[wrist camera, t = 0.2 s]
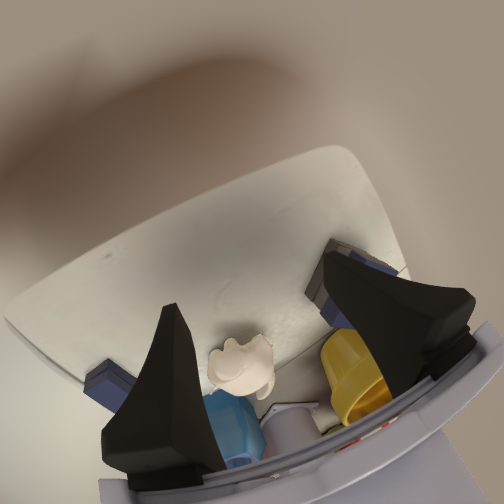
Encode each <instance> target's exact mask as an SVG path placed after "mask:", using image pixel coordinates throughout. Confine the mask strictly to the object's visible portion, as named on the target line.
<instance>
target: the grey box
mask: <svg viewBox="0 0 504 504" xmlns="http://www.w3.org/2000/svg"><path fill="white" fill-rule="evenodd" d="M333 250H335V251H337V252H339V253H342V254H344V255H346V256H348V257H349V254H350V252H351V250H354V251H357V252H360V253H362V254H365V255H367V256H370V257H373V256H371V255H370V254H368V253H367V252H365V251H362V250H360V249H357V248H355V247H352V246H349V245H347V244H344V243H342V242H339V241H336V240H334V239H330V241H329V243H328V245H327V247H326V249H325V252H324V253H327V252H330V251H333ZM373 258H375V257H373ZM375 259H377V258H375ZM305 295H306V296H307V297H308V298H309V299H310V301H312V302H314V303H315V305H316V306H317V307H318V308H319V309H320V311H321V310H322V308H323V306H324V304H325V302H326V300H327V298H328V296H329V294H328V293H327V291H326V289H325V288H324V281H323V256H322V258H321V260H320V262H319V264H318V267H317V269H316V271H315V273H314V275H313V277H312V279H311V281H310V283H309V285H308V287H307V289H306V291H305Z"/></svg>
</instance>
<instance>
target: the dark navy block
mask: <svg viewBox="0 0 504 504" xmlns="http://www.w3.org/2000/svg"><path fill="white" fill-rule="evenodd" d="M136 380H137V379H136V378H134V377H133V376H131V375H130V374H129V373H127V372H126V371H124V370H123V369H122V368H120V367H119V366H117V365H116V364H115V363H113V362H112V361H111V360H109V359H107V360H106V361H105V362H103V363H102V364H101V365H99V366H98V367H97V368H95V369H94V370H93V371H91V372H90V373H88V374H87V375H86V378H85V382H84V384H85V386H84V391H83V392H84V393H85V394H86V395H88V396H89V397H90V398H92V399H93V400H95V401H97V402H98V403H99V404H101V405H102V406H104V407H105V408H107V409H108V410H110V411H112V412H113V413H115V414H116V412H117V411H118V409H119V408H120V407H121V405H122V404H123V402H124V401H125V399H126V398H127V396H128V394H129V393H130V391H131V389H132V387H133V385H134V384H135V382H136Z"/></svg>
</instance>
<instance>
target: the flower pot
mask: <svg viewBox="0 0 504 504" xmlns="http://www.w3.org/2000/svg"><path fill="white" fill-rule="evenodd" d="M321 361H322V364H323V367H324V370H325V373H326V376H327V379H328V381H329V384H330V387H331V390H332V395H331V404H332V406H333V408H334V410H335V412H336V414H337V415H338V417H339V419H340V420H341V422H342V423H343V425H344V426H345V427H346V426H348V425H350V424H352V423H354V422H356V421H358V420H359V419H361V418H363V417H365V416H367V415H369V414H370V413H372V412H374V411H376V410H377V409H379V408H381V407H382V406H384V405H386V404H387V403H389V402H391V401H392V400H393V398H392V396H391V393H390V391H389V389H388V387H387V384H386V382H385V380H384V378H383V376H382V374H381V372H380V370H379V368H378V366H377V364H376V362H375V360H374V358H373V357H372V355H371V353H370V351H369V350H368V348H367V346H366V345H365V343H364V341H363V340H362V338H361V337H360V335H359V334H358V333H357V331H356V330H352V329H344V328H341V329H339V330H337V331H336V332H335V333H334V334H332V335H331V336H330V337H329V339H328V340H327V341H326V342H325V344H324V346H323V347H322V350H321Z"/></svg>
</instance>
